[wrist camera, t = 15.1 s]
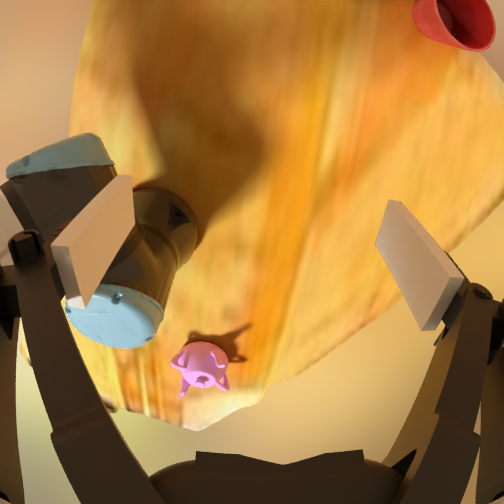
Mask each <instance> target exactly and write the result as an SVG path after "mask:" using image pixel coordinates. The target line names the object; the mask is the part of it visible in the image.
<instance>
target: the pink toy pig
mask: <svg viewBox="0 0 504 504" xmlns="http://www.w3.org/2000/svg"><path fill="white" fill-rule="evenodd" d="M171 365H172V366H173V367H174V368H176V369H179V370H180V371H181V373H182V388H181V392H180V394H179V395H178V397H179V398H181V397H183V396H184V395H185V393H186V392H187V390H188V387H189V386H190V384H191V385H193V386H196V387H201V388H207V387H211V386H213V385H216V386H217V387H218V388H219V389H221V390H223V391H228V390H229V383H228V380H227V377H226V374H225V372H226V369H227V366H228V358H227V355H226V354H225V352H224V351H223V350H222V349H221V348H219V347H218V346H216V345H215V344H212V343H209V342H204V341H197V342H192V343H190V344H188V345H186V346H184V347H183V348H182V349H181V350H180V352H179V353H178V354H177V355H175V356H174V357H173V358H172V360H171ZM221 378H222V382H223V385H222V384H221V383H220V382H218V381H219V380H220V379H221Z"/></svg>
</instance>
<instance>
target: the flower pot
mask: <svg viewBox="0 0 504 504" xmlns="http://www.w3.org/2000/svg"><path fill="white" fill-rule="evenodd" d="M413 18H414V22H415V24H416V25H417V27H418V29H419V30H420V31H421V32H422V33H423V34H424V35H425V36H426V37H428V38H429V39H431V40H434V41H437V42H441V43H444V44H447V45H451V46H454V47H458V48H461V49H465V50H469V51H474V52H481V51H484V50H486V49H488V48H489V47H490V46H491V44H492V43H493V41H494V38H495V21H494V17H493V14H492V11H491V9H490V7H489V5H488V4H487V2H486V0H417V1H416V2H415V4H414V6H413Z"/></svg>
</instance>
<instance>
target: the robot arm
mask: <svg viewBox="0 0 504 504" xmlns="http://www.w3.org/2000/svg"><path fill="white" fill-rule="evenodd" d="M114 165H115V164H114V162H113V161H112V160H111V159H110V157H109V155H108V153H107V151H106V149H105V146H104V144H103V142H102V140H101V139H100V137H98V136H97V135H95V134H93V133H83V134H80V135H76V136H73V137H70V138H67V139H64V140H61V141H59V142H56V143H54V144H51V145H49V146H46V147H44V148H42V149H39V150H37V151H35V152H33V153H31V154H30V155H27V156H25V157H23V158H21V159H18V160H17V161H15V162H13V163H11V164H10V165H9V166H8V167H7V169H6V177H7V179H8V178H9V180H8V181H7V182H6V183H4V184H3V185H1V186H0V504H25V502H24V489H23V480H22V473H21V466H20V458H19V450H18V439H17V426H16V393H15V392H16V385H15V382H16V357H17V342H18V331H19V321H20V317H21V319H22V324H23V329H24V334H25V338H26V343H27V347H28V351H29V355H30V359H31V363H32V367H33V370H34V374H35V378H36V381H37V384H38V388H39V391H40V394H41V397H42V400H43V403H44V406H45V408H46V412H47V414H48V417H49V420H50V422H51V425H52V428H53V432H52V433H51V440H52V443H53V446H54V449H55V451H56V453H57V456H58V457H59V460H60V463H61V464H62V467H63V469H64V471H65V473H66V475H67V478H68V479H69V482H70V484H71V485H72V487H73V489H74V491H75V493H76V495H77V497H78V499H79V501H80V502H81V504H460V503H461V501H462V498H463V496H464V493H465V490H466V488H467V485H468V482H469V479H470V476H471V473H472V470H473V467H474V464H475V460H476V457H477V454H478V450H479V447H480V455H479V468H478V477H477V486H476V504H504V347H503V345H504V299H503V300H502V302H498V301H495V300H493V296H492V294H491V293H490V292H489V291H488V290H487V289H486V288H485V287H483V286H482V285H480V284H477V283H470V281H469V280H468V279H467V277H466V276H465V275H464V273H463V272H462V271H461V270H460V268H458V266H457V264H456V263H454V261H453V259H452V258H451V257H450V256H449V254H447V253H446V252H445V251H444V250H442V248H441V247H440V246H439V245H438V243H437V242H436V241H435V240H434V239H433V237H432V236H431V235H430V234H429V233H428V232H427V230H426V229H425V228H424V227H423V226H422V225H421V223H420V222H419V221H418V220H417V219H416V218H415V217H414V216H413V214H412V213H411V212H410V211H409V210H408V209H407V208H406V207H405V206H404V205H403V203H402V202H400V201H394V200H388V204H387V207H386V210H385V214H384V217H383V220H382V224H381V227H380V230H379V233H378V236H377V239H376V242H375V245H376V247H377V249H378V250H379V252H380V254H381V256H382V257H383V259H384V261H385V263H386V264H387V266H388V268H389V270H390V272H391V273H392V275H393V277H394V279H395V281H396V283H397V284H398V286H399V288H400V290H401V292H402V294H403V296H404V297H405V299H406V301H407V303H408V305H409V307H410V309H411V311H412V313H413V315H414V317H415V319H416V321H417V323H418V325H419V327H420V329H421V331H429V330H436V328H437V326H438V325H439V323H440V321H441V320H443V322H444V324H445V328H444V329H443V330H442V332H441V334H440V335H439V337H438V338H437V340H436V341H435V343H434V346H436V345H437V346H436V349H435V352H434V356H433V358H432V360H431V363H430V366H429V368H428V371H427V373H426V376H425V379H424V381H423V383H422V386H421V388H420V390H419V393H418V395H417V397H416V400H415V402H414V404H413V407H412V409H411V411H410V413H409V415H408V417H407V419H406V422H405V423H404V426H403V427H402V429H401V431H400V433H399V435H398V437H397V439H396V441H395V443H394V445H393V447H392V449H391V451H390V452H389V454H388V455H387V457H386V458H385V459H384V460H383V462H382V463H379V462H376V461H372V460H368V459H364V455H363V450H362V449H361V450H354V451H344V452H334V453H325V454H321V455H318V456H315V457H311V458H308V459H305V460H301V461H298V462H294V463H290V464H285V465H281V464H276V463H272V462H267V461H263V460H259V459H255V458H251V457H247V456H243V455H240V454H223V453H211V452H200V451H196V459H195V460H191V461H185V462H180V463H176V464H174V465H171V466H168V467H166V468H164V469H161V470H159V471H158V472H156V473H155V474H153V475H151V476H150V477H148V475H147V474H146V472H145V471H144V470H143V468H142V466H141V465H140V463H139V462H138V460H137V459H136V457H135V456H134V454H133V453H132V451H131V450H130V448H129V447H128V445H127V443H126V441H125V440H124V438H123V437H122V435H121V433H120V431H119V430H118V428H117V426H116V424H115V423H114V421H113V419H112V417H111V415H110V414H109V412H108V410H107V408H106V406H105V404H104V402H103V400H102V398H101V396H100V394H99V393H98V391H97V388H96V386H95V384H94V382H93V380H92V378H91V376H90V374H89V372H88V370H87V367H86V365H85V363H84V361H83V358H82V356H81V354H80V351H79V349H78V347H77V344H76V342H75V339H74V337H73V334H72V332H71V329H70V327H69V324H68V321H67V319H66V316H65V313H64V310H63V308H62V305H61V300H62V298H63V297H64V295H65V297H66V303H65V304H66V308H65V311H66V315H67V317H68V319H69V320H70V322H71V323H72V325H73V326H74V327H75V328H76V329H77V330H78V331H79V332H80V333H82V334H83V335H84V336H86V337H88V338H89V339H91V340H93V341H95V342H97V343H100V344H103V345H106V346H109V347H113V348H121V349H130V348H136V347H140V346H143V345H145V344H147V343H148V342H149V341H151V340H152V339H153V337H154V336H155V334H156V332H157V330H158V327H159V325H160V323H161V321H162V320H163V318H164V311H165V307H166V304H167V300H168V297H169V293H170V290H171V287H172V283H173V280H174V277H175V273H176V272H177V271H178V270H179V269H180V268H181V267H182V266H183V265H184V264H185V263H186V262H187V261H188V260H189V259H190V257H191V256H192V254H193V252H194V250H195V247H196V243H197V240H198V225H197V221H196V218H195V216H194V214H193V212H192V210H191V209H190V207H189V206H188V205H187V204H186V203H185V202H184V201H183V200H182V199H181V198H179V197H178V196H176V195H175V194H173V193H171V192H169V191H166V190H163V189H158V188H143V189H139V190H136V191H134V192H133V190H132V175H117V172H116V170H115V167H114ZM437 343H438V344H437ZM480 401H481V435H479V434H477V433H475V432H473V431H474V426H475V422H476V418H477V414H478V410H479V406H480Z"/></svg>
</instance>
